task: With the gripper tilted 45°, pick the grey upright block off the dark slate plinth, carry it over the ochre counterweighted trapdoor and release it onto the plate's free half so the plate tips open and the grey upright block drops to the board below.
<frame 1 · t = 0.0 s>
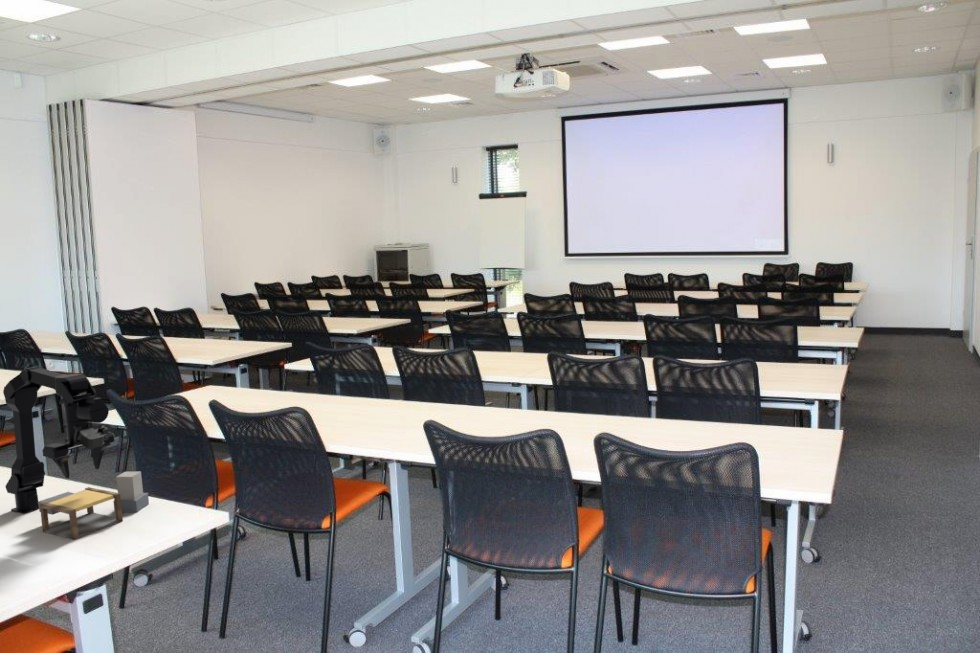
hand: (82, 473, 234), 14 cm above the table, tool pointing down, fingers open, 9 cm apart
grey upright block: (130, 496, 246), point 3 cm above the table, touching plinth
trapdoor: (73, 504, 233), point 6 cm above the table, hinge at 0.0°
plinth: (132, 508, 246), on the table
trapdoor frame: (69, 523, 235), on the table
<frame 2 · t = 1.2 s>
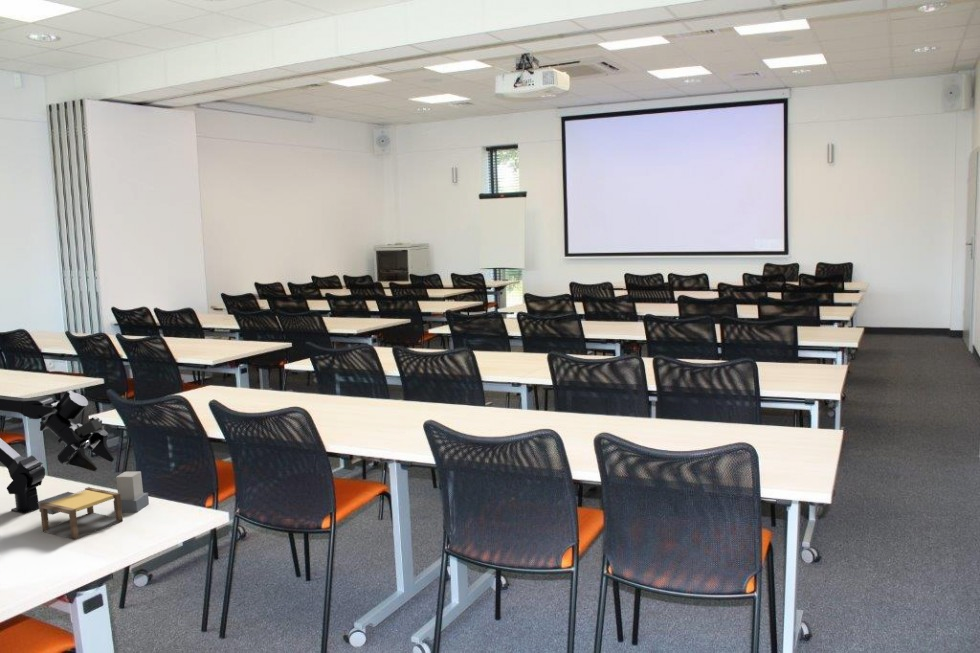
hand: (104, 465, 245), 13 cm above the table, tool tilted 45°, fingers open, 9 cm apart
nothing on the table moved.
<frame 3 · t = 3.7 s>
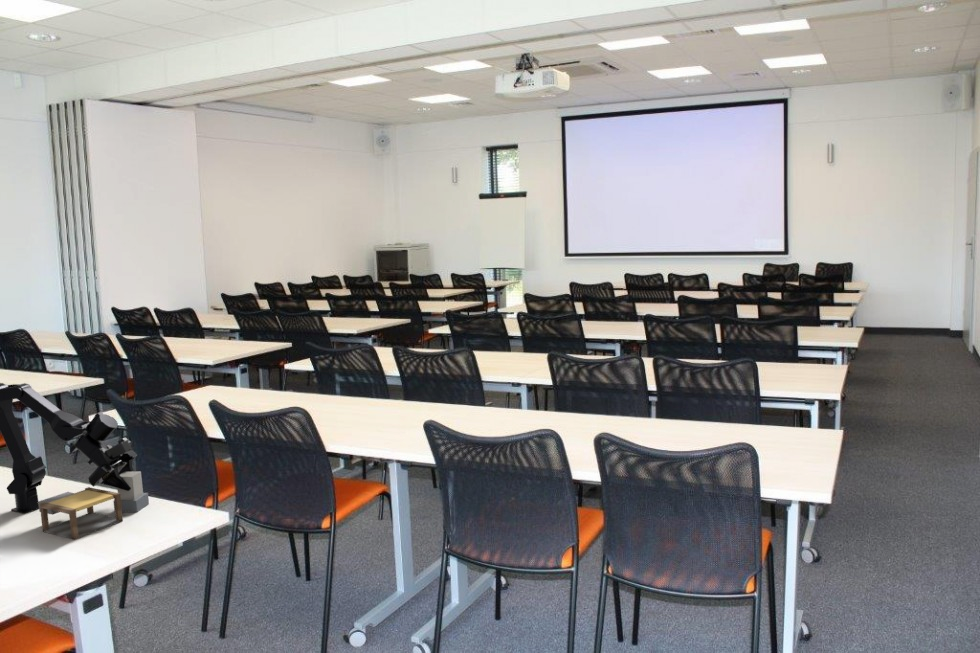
hand: (134, 486, 245), 7 cm above the table, tool tilted 45°, fingers closed on grey upright block, 5 cm apart
grey upright block: (130, 496, 246), point 3 cm above the table, touching gripper, plinth
everything else where it was.
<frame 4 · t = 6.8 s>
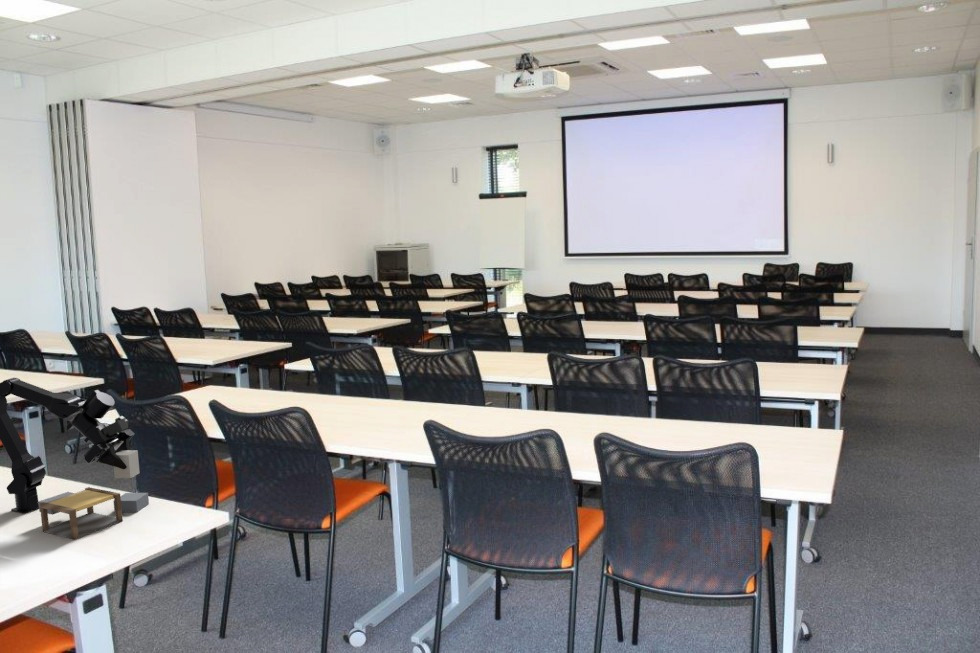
hand: (130, 465, 244), 13 cm above the table, tool tilted 45°, fingers closed on grey upright block, 5 cm apart
grey upright block: (127, 475, 244), point 10 cm above the table, touching gripper
everything else where it was.
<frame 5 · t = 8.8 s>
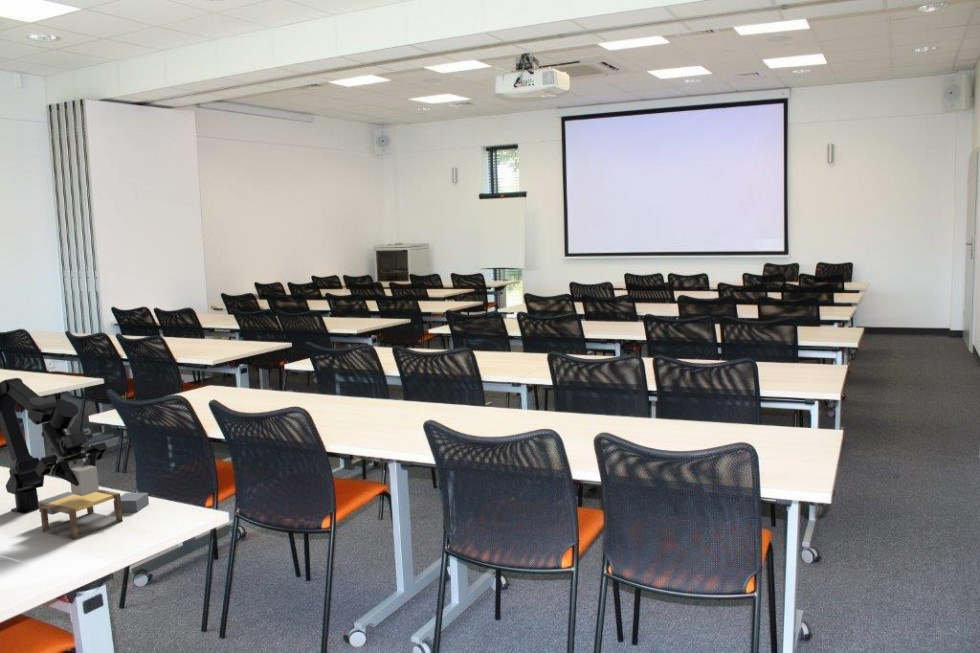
hand: (87, 482, 229), 13 cm above the table, tool tilted 45°, fingers closed on grey upright block, 5 cm apart
grey upright block: (85, 492, 230), point 10 cm above the table, touching gripper
everything else where it was.
when the fingers open (13 cm above the table, at t = 9.7 s): grey upright block drops 7 cm and tips over, resting on trapdoor.
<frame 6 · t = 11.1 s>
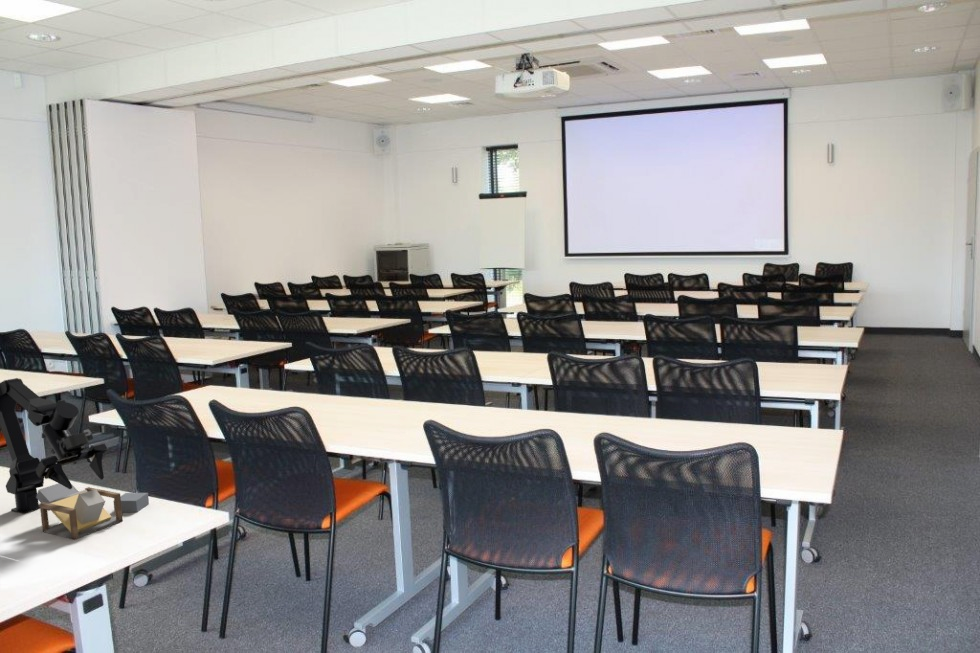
hand: (87, 483, 229), 13 cm above the table, tool tilted 45°, fingers open, 9 cm apart
grey upright block: (85, 516, 231), point 3 cm above the table, tilted 33°, touching trapdoor
trapdoor: (71, 507, 234), point 5 cm above the table, hinge at -32.7°, touching grey upright block, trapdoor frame
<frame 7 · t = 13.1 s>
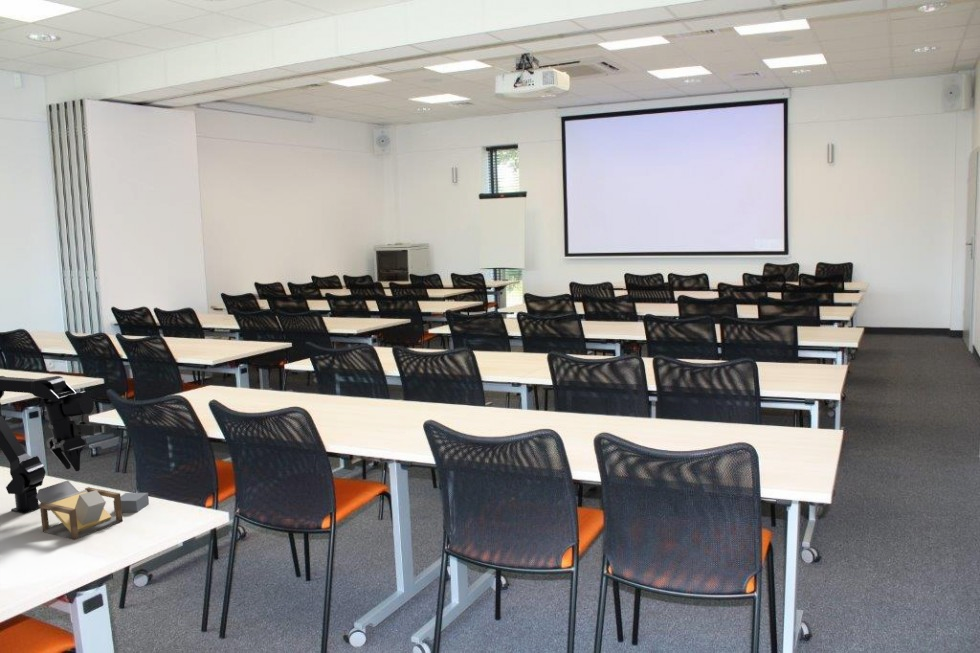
hand: (73, 469, 244), 13 cm above the table, tool pointing down, fingers open, 9 cm apart
nothing on the table moved.
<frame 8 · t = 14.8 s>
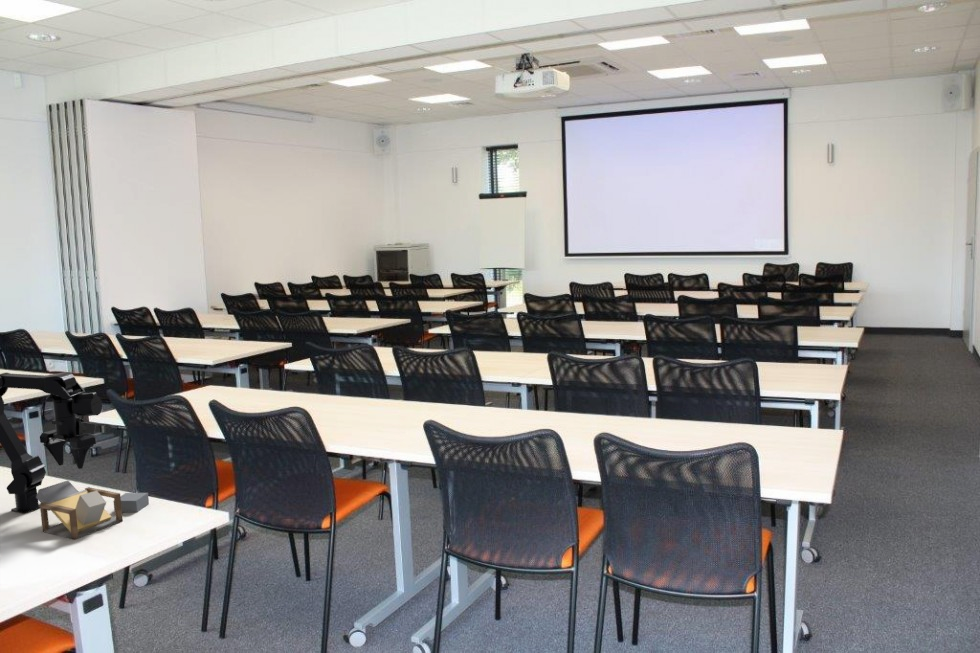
hand: (70, 466, 246), 13 cm above the table, tool pointing down, fingers open, 9 cm apart
grey upright block: (86, 517, 231), point 3 cm above the table, tilted 33°
trapdoor: (71, 507, 234), point 5 cm above the table, hinge at -32.7°, touching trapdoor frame
at the end: grey upright block inside the target area (1.1 cm from its centre), point 3.0 cm above the table; the gripper is holding nothing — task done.
